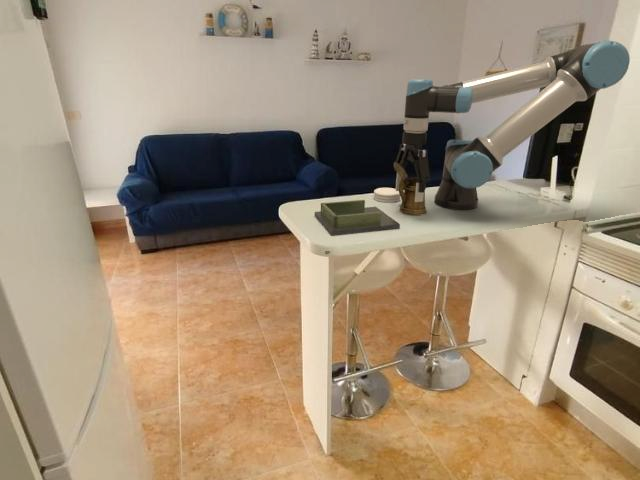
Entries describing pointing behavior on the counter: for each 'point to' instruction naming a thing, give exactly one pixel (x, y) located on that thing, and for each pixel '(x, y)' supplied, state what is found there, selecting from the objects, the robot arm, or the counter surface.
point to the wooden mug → (409, 193)
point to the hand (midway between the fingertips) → (408, 195)
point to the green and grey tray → (353, 218)
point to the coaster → (386, 195)
